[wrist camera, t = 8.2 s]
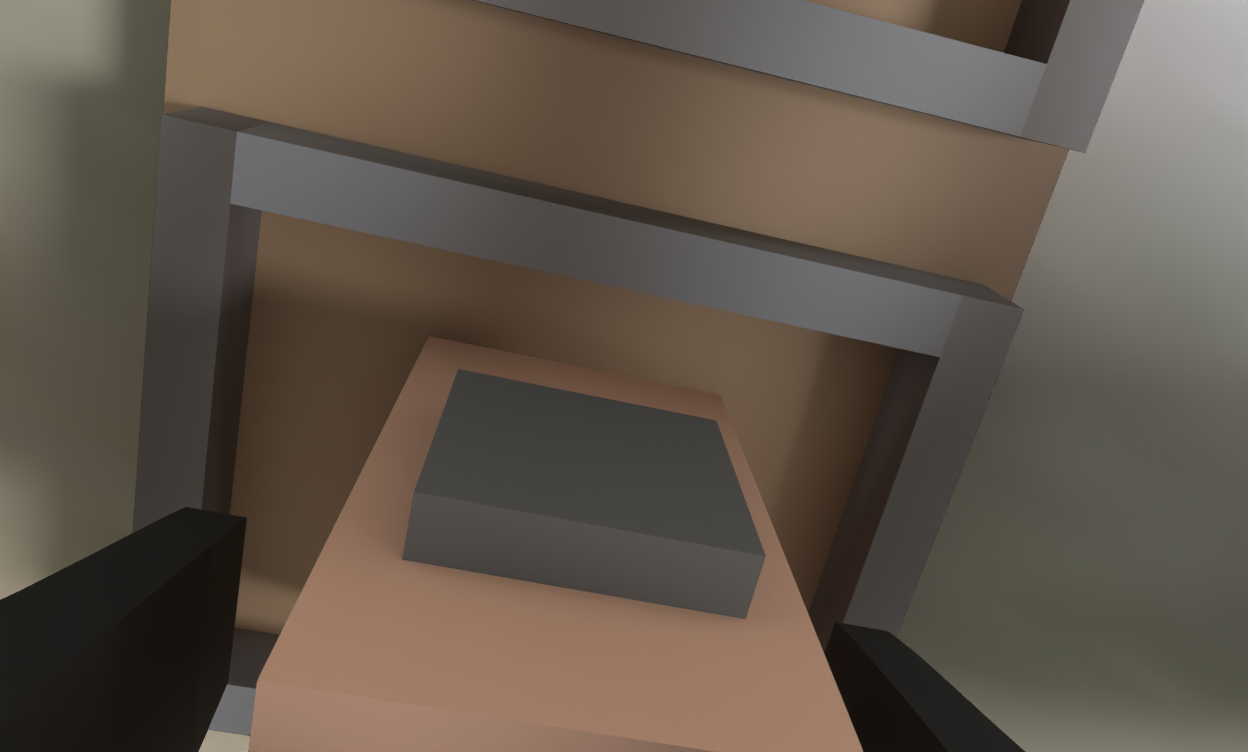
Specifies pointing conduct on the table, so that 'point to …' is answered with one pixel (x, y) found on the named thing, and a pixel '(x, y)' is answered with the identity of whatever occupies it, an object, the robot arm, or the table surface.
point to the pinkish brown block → (550, 581)
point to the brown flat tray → (603, 246)
